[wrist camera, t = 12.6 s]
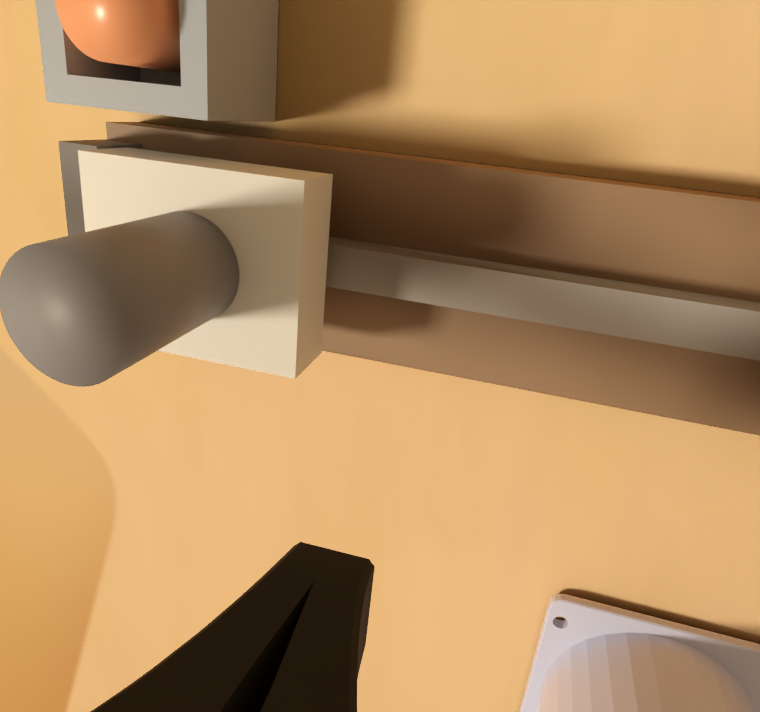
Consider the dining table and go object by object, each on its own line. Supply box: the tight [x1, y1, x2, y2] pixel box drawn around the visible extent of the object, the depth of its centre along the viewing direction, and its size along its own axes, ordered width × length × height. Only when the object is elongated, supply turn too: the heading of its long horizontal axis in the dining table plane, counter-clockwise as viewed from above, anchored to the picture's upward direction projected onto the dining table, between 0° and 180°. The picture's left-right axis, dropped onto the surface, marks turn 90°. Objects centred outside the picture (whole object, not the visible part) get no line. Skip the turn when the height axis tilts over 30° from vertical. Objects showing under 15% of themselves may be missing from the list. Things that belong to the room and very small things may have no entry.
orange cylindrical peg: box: [55, 0, 181, 73], centre depth 15 cm, size 2×2×4 cm
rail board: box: [59, 122, 760, 435], centre depth 17 cm, size 6×22×4 cm, turn 84°
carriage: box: [0, 147, 333, 386], centre depth 14 cm, size 5×6×6 cm
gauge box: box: [36, 0, 279, 122], centre depth 16 cm, size 5×5×4 cm
